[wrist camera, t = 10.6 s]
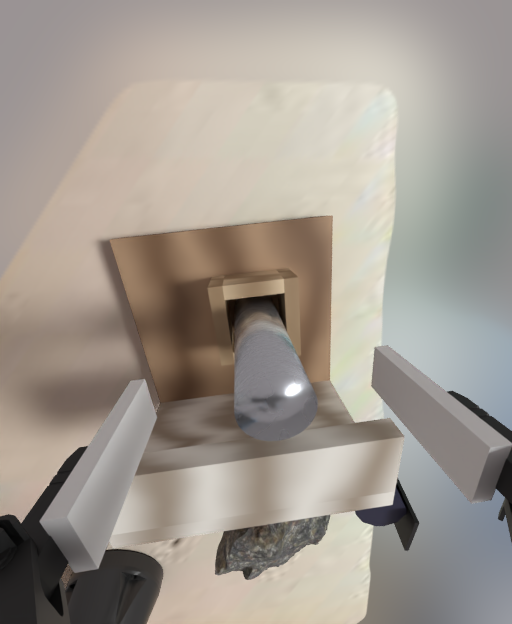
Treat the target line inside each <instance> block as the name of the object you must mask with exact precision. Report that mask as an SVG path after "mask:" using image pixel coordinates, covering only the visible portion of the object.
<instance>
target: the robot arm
mask: <svg viewBox="0 0 512 624" xmlns="http://www.w3.org/2000/svg"><path fill="white" fill-rule="evenodd" d="M371 386H372V387H373V389H374V390H375V391H376V392H377V393H378V394H379V396H380V397H381V398H382V399H383V400H384V401H385V403H386V404H387V405H388V406H389V407H390V408H391V410H392V411H393V412H394V413H395V414H396V415H397V417H398V418H399V419H400V420H401V421H402V423H403V424H404V425H405V426H406V427H407V428H408V430H409V431H410V432H411V433H412V434H413V436H414V437H415V438H416V439H417V440H418V441H419V442H420V444H421V445H422V446H423V447H424V448H425V450H426V451H427V452H428V453H429V454H430V455H431V457H432V458H433V459H434V460H435V461H436V462H437V464H438V465H439V466H440V467H441V468H442V469H443V471H444V472H445V473H446V474H447V475H448V477H449V478H450V479H451V480H452V481H453V482H454V484H455V485H456V486H457V487H458V488H459V489H460V491H461V492H462V493H463V494H464V495H465V496H466V498H467V499H468V500H469V501H470V502H471V503H477V502H482V501H488V500H492V497H493V495H494V492H495V489H497V490H498V491H499V492H500V493H501V494H502V495H503V496H504V497H505V500H504V502H503V505H502V507H501V510H500V512H499V516H498V519H499V520H501V521H503V519H504V517H505V515H506V518H507V523H508V527H509V532H510V537H511V542H512V431H511V430H509V429H508V428H507V427H505V426H504V425H503V424H501V423H500V422H499V421H497V420H496V419H495V418H493V417H492V416H489V414H488V413H487V412H485V411H484V410H483V409H480V408H479V406H477V405H476V404H475V403H473V402H472V401H471V400H469V399H468V398H466V397H464V396H462V395H460V394H458V393H456V392H454V391H449V392H446V391H445V390H444V389H442V388H441V387H440V386H439V385H437V384H436V383H435V382H433V381H432V380H431V379H430V378H428V377H427V376H426V375H425V374H423V373H422V372H421V371H419V370H418V369H417V368H415V367H414V366H413V365H412V364H411V363H409V362H408V361H407V360H406V359H404V358H403V357H401V356H400V355H399V354H398V353H396V352H395V351H394V350H393V349H392V348H390V347H389V346H388V345H387V346H379V347H375V351H374V362H373V374H372V385H371ZM156 419H157V415H156V412H155V409H154V406H153V403H152V400H151V396H150V393H149V390H148V387H147V384H146V381H145V379H140V380H133V381H130V383H129V384H128V386H127V387H126V389H125V390H124V392H123V393H122V395H121V397H120V398H119V400H118V401H117V403H116V404H115V406H114V407H113V409H112V410H111V412H110V413H109V415H108V417H107V418H106V420H105V421H104V423H103V424H102V426H101V427H100V429H99V430H98V432H97V434H96V435H95V437H94V438H93V440H92V441H91V443H90V444H89V446H86V447H79V448H78V449H77V450H76V451H75V452H74V453H73V454H72V455H71V456H70V457H69V458H67V459H66V461H65V462H64V464H63V465H62V467H61V468H60V469H59V471H58V472H57V475H55V476H54V478H53V479H52V481H51V482H50V485H49V486H47V488H46V489H45V491H44V492H43V493H42V495H41V496H40V498H39V499H38V501H37V502H36V503H35V505H34V506H33V508H32V509H31V511H30V512H29V513H28V515H27V516H26V518H25V519H24V520H23V522H22V523H20V522H19V520H18V519H17V518H16V516H14V515H9V514H8V515H5V516H1V517H0V624H146V623H147V621H148V619H149V616H150V614H151V612H152V609H153V607H154V605H155V603H156V600H157V598H158V596H159V592H160V588H161V584H162V579H163V569H162V567H161V566H160V564H159V563H158V562H157V561H155V560H154V559H152V558H151V557H149V556H146V555H144V554H141V553H137V552H131V551H106V552H105V550H106V548H107V545H108V543H109V540H110V537H111V535H112V532H113V530H114V527H115V525H116V522H117V519H118V517H119V514H120V512H121V509H122V507H123V504H124V501H125V499H126V496H127V494H128V491H129V489H130V486H131V483H132V481H133V478H134V476H135V473H136V471H137V468H138V465H139V463H140V460H141V458H142V455H143V453H144V450H145V448H146V445H147V442H148V440H149V437H150V435H151V432H152V430H153V427H154V424H155V422H156ZM67 564H69V566H70V567H71V569H72V570H73V573H72V575H71V577H70V579H69V582H68V584H67V587H66V590H65V588H64V583H63V581H62V579H61V576H62V574H63V572H64V570H65V568H66V566H67Z"/></svg>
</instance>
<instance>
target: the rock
mask: <svg viewBox="0 0 512 624" xmlns="http://www.w3.org/2000/svg"><path fill="white" fill-rule="evenodd" d="M329 519H330V515H325V516H318V517H312V518H305V519H299V520H293V521H286V522H280V523H274V524H267V525H261V526H254V527H248V528H242V529H235V530H229V531H224V533H223V536H222V539H221V541H220V544H219V546H218V549H217V556H216V562H215V575H222V574H226V573H229V572H231V571H243V574H244V577H245V579H247V580H251V579H253V578H255V577H257V576H259V575H260V574H261V573H262V572H263V571H264V570H267V568H269V567H274V566H276V567H279V565H283V564H284V563H286V562H287V561H288V560H289V559H290V558H291V557H292V556H294V554H295V553H296V552H298V551H300V550H301V549H302V548H303V547H305V546H306V545H310V544H314V545H316V544H318V542H319V541H320V540H321V539H322V537H323V536H324V535H325V531H326V530H327V526H328V523H329Z"/></svg>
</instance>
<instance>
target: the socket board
mask: <svg viewBox="0 0 512 624" xmlns="http://www.w3.org/2000/svg"><path fill="white" fill-rule="evenodd" d="M332 222H333V216H320V217H311V218H301V219H292V220H283V221H274V222H264V223H255V224H246V225H237V226H227V227H218V228H209V229H200V230H190V231H181V232H172V233H163V234H153V235H144V236H135V237H126V238H117V239H111V240H110V243H111V247H112V250H113V253H114V256H115V259H116V262H117V266H118V269H119V272H120V275H121V278H122V282H123V285H124V288H125V291H126V294H127V298H128V301H129V304H130V307H131V310H132V314H133V317H134V320H135V323H136V326H137V330H138V333H139V336H140V339H141V342H142V346H143V349H144V352H145V355H146V358H147V361H148V365H149V368H150V371H151V374H152V377H153V381H154V384H155V387H156V390H157V393H158V397H159V400H160V405H159V408H158V410H157V413H156V415H157V419H156V422H155V424H154V427H153V430H152V432H151V435H150V437H149V440H148V442H147V445H146V448H145V450H144V453H143V455H142V458H141V460H140V463H139V465H138V468H137V471H136V473H135V476H134V478H133V481H132V483H131V486H130V489H129V491H128V494H127V496H126V499H125V501H124V504H123V507H122V509H121V512H120V514H119V517H118V519H117V522H116V525H115V527H114V530H113V532H112V535H111V537H110V540H109V542H110V544H111V546H112V547H113V549H114V548H120V547H127V546H133V545H139V544H146V543H152V542H158V541H165V540H171V539H178V538H184V537H190V536H197V535H203V534H210V533H216V532H222V531H229V530H235V529H242V528H248V527H254V526H261V525H267V524H274V523H280V522H286V521H293V520H299V519H305V518H312V517H318V516H325V515H331V514H337V513H344V512H350V511H357V510H363V509H369V508H376V507H382V506H389V505H393V500H394V494H395V488H396V483H397V476H398V471H399V466H400V460H401V454H402V449H403V442H404V435H403V434H402V433H401V431H400V430H399V429H398V428H397V426H396V425H395V424H394V422H393V421H392V420H391V419H390V418H387V419H380V420H373V421H366V422H359V423H355V422H354V421H353V419H352V417H351V416H350V414H349V412H348V410H347V409H346V407H345V405H344V404H343V402H342V400H341V399H340V397H339V395H338V393H337V392H336V390H335V388H334V387H333V385H332V383H331V381H330V337H331V279H332ZM264 295H269V296H270V297H271V299H272V301H273V303H274V305H275V307H276V310H277V312H278V314H279V316H280V318H281V320H282V322H283V325H284V327H285V329H286V331H287V333H288V335H289V338H290V340H291V342H292V344H293V346H294V348H295V351H296V353H297V355H298V357H299V359H300V361H301V363H302V366H303V368H304V370H305V372H306V374H307V376H308V379H309V381H310V383H311V385H312V387H313V389H314V391H315V394H316V396H317V400H318V409H317V413H316V415H315V418H314V419H313V421H312V422H311V424H310V425H309V426H308V427H307V428H306V429H305V430H304V431H302V432H301V433H299V434H297V435H296V436H294V437H291V438H288V439H285V440H280V441H263V440H259V439H256V438H253V437H251V436H249V435H247V434H246V433H245V432H244V431H242V429H241V428H240V427H239V426H238V424H237V422H236V419H235V415H234V343H235V303H236V301H237V299H239V298H248V297H256V296H264Z"/></svg>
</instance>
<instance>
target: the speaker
mask: <svg viewBox="0 0 512 624" xmlns="http://www.w3.org/2000/svg"><path fill="white" fill-rule="evenodd" d="M355 513H356V515H357V516H358V517H359V518H360V519H361V521H362V522H364V523H368V524H371V525H374V526H385V525H389V524H392V523H394V524H395V527H396V529H397V532H398V534H399V537H400V539H401V542H402V545H403V547H404V549H405V550H409V547H410V545H411V543H412V540H413V538H414V535H415V532H416V530H417V527H418V525H419V521H418V519H417V517H416V515H415V513H414V511H413V509H412V507H411V505H410V503H409V501H408V499H407V497H406V494H405V492H404V490H403V488H402V486H401V484H400V482H399V480H398V478H397V483H396V488H395V494H394V500H393V505H389V506H382V507H376V508H369V509H363V510H357V511H355Z"/></svg>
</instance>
